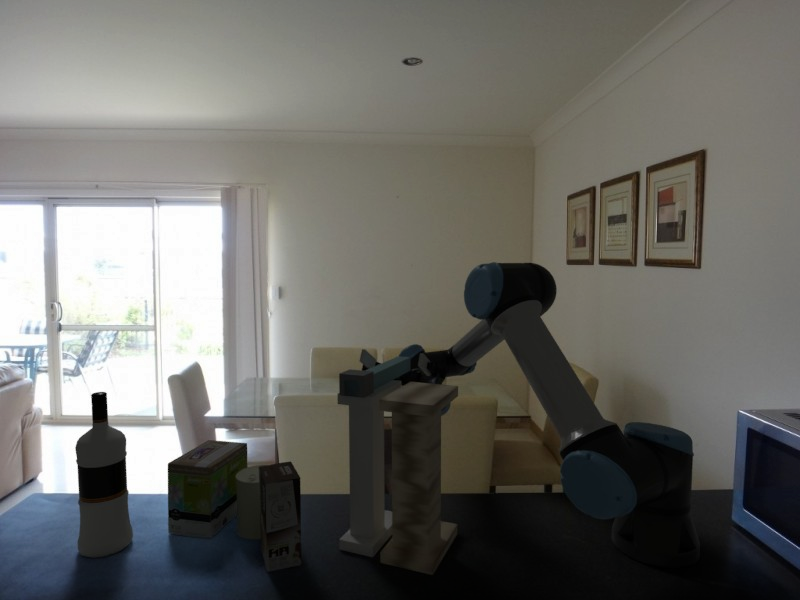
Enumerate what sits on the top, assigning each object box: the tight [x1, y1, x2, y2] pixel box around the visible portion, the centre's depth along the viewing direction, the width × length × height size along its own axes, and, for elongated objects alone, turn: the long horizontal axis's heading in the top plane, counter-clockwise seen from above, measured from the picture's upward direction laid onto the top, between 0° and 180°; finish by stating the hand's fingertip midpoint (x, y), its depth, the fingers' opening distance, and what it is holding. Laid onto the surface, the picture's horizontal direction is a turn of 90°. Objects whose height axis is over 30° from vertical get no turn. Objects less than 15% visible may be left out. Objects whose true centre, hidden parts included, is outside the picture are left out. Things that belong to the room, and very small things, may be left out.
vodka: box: [74, 391, 134, 559], centre depth 100 cm, size 9×9×30 cm
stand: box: [336, 380, 402, 558], centre depth 104 cm, size 7×14×30 cm, turn 157°
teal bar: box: [338, 355, 411, 398], centre depth 107 cm, size 5×25×4 cm, turn 157°
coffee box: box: [259, 461, 302, 573], centre depth 97 cm, size 9×6×16 cm
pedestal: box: [379, 382, 459, 576], centre depth 99 cm, size 10×15×30 cm, turn 157°
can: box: [236, 464, 268, 540], centre depth 108 cm, size 9×9×12 cm
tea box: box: [167, 439, 249, 539], centre depth 111 cm, size 15×10×15 cm
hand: (390, 357), depth 111 cm, fingers open, 13 cm apart
